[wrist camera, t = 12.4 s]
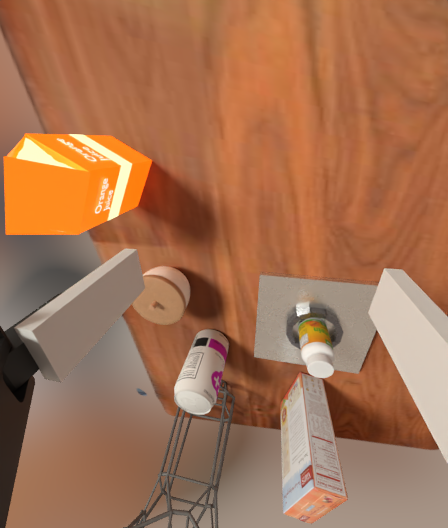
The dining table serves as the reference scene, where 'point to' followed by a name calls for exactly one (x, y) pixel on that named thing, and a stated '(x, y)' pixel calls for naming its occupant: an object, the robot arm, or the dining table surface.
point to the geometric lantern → (171, 511)
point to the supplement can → (202, 373)
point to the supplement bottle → (316, 347)
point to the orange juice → (70, 183)
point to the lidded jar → (163, 295)
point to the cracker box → (309, 452)
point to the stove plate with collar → (314, 306)
